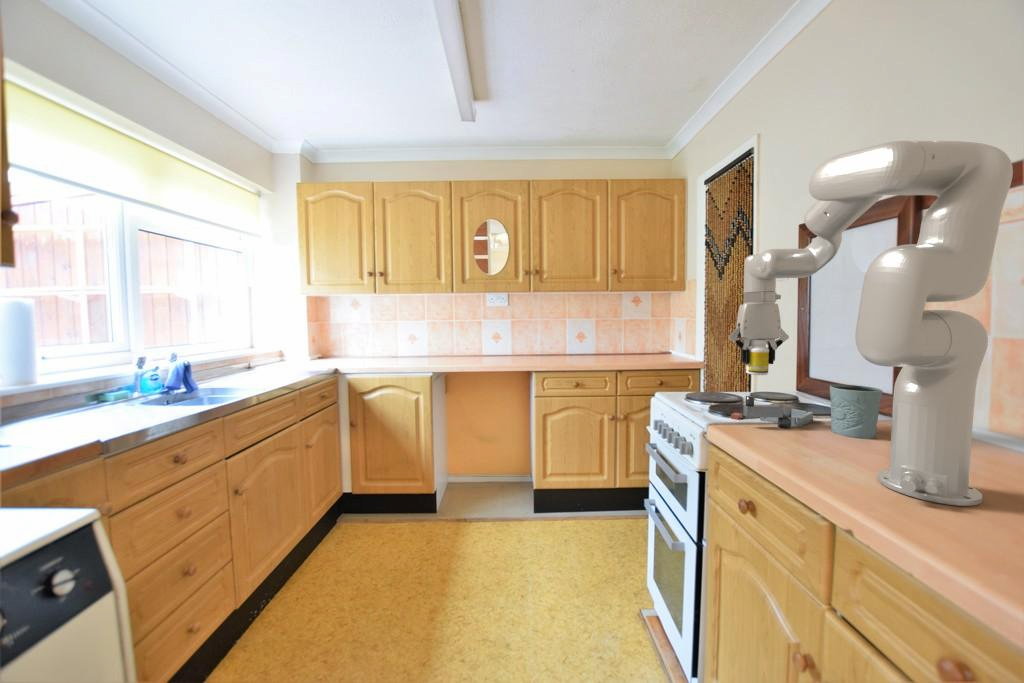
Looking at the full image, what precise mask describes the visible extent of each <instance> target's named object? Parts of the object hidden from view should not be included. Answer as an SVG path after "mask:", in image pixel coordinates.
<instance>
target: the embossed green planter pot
mask: <svg viewBox="0 0 1024 683" xmlns="http://www.w3.org/2000/svg"><path fill="white" fill-rule="evenodd" d="M829 395H830V397H829V398H830V424H831V425H830V428H831V432H832V433H834V434H836V435H838V436H843V437H847V438H852V439H861V440H862V439H864V440H870V439H871V440H872V439H875V438H876V436H877V428H878V425H877V424H878V420H879V415H880V405H881V401H882V397H883V396H882V395H883V390H882V389H881V388H877V387H872V386H865V385H856V384H831V385H829Z"/></svg>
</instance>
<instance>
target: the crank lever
mask: <svg viewBox="0 0 1024 683" xmlns="http://www.w3.org/2000/svg"><path fill="white" fill-rule="evenodd" d="M792 409H793V406H792V405H790V404H783V403H781V404H779V403H778V404H755V397H754V396H752V395H746V396H745V404H743V411H742V412H743V413H742V414H743V416H744V417H745V418H760V417H784V418H791V415H792Z"/></svg>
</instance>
